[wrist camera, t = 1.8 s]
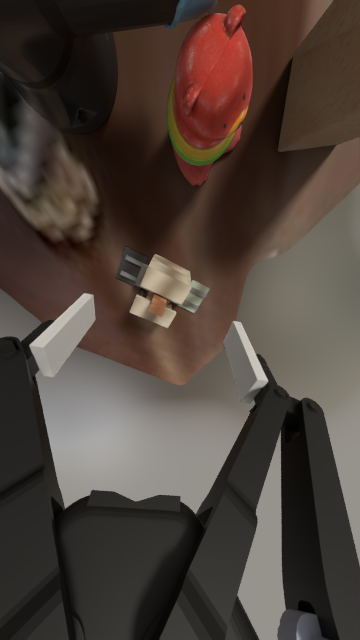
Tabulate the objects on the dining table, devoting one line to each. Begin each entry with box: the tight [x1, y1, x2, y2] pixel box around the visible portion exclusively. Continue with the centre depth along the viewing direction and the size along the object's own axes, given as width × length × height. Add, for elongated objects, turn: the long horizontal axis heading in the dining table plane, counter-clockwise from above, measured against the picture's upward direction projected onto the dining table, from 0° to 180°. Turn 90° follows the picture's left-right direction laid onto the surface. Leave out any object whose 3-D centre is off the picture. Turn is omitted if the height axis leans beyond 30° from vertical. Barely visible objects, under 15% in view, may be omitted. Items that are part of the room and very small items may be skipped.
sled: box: [135, 264, 181, 317], centre depth 37 cm, size 12×5×12 cm, turn 63°
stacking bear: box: [167, 5, 253, 186], centre depth 21 cm, size 11×10×18 cm
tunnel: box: [116, 246, 210, 328], centre depth 39 cm, size 22×11×9 cm, turn 63°
